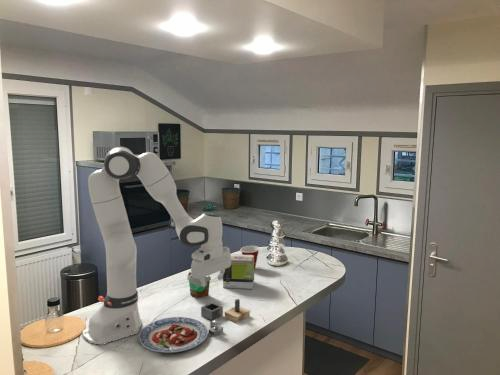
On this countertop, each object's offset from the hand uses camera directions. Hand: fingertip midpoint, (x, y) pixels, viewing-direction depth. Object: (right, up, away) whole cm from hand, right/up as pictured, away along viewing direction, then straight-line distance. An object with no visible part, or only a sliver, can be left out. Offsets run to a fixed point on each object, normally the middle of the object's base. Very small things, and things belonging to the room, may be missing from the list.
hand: (212, 282), depth 170 cm
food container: (-9, -12, +22) cm, 27 cm away
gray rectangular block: (+1, -16, -7) cm, 18 cm away
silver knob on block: (+3, -17, -12) cm, 21 cm away
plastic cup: (+16, -6, +58) cm, 60 cm away
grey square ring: (0, -15, +2) cm, 15 cm away
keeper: (+10, -15, +2) cm, 18 cm away
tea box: (+10, -10, +35) cm, 38 cm away
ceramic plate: (-13, -18, -15) cm, 27 cm away
